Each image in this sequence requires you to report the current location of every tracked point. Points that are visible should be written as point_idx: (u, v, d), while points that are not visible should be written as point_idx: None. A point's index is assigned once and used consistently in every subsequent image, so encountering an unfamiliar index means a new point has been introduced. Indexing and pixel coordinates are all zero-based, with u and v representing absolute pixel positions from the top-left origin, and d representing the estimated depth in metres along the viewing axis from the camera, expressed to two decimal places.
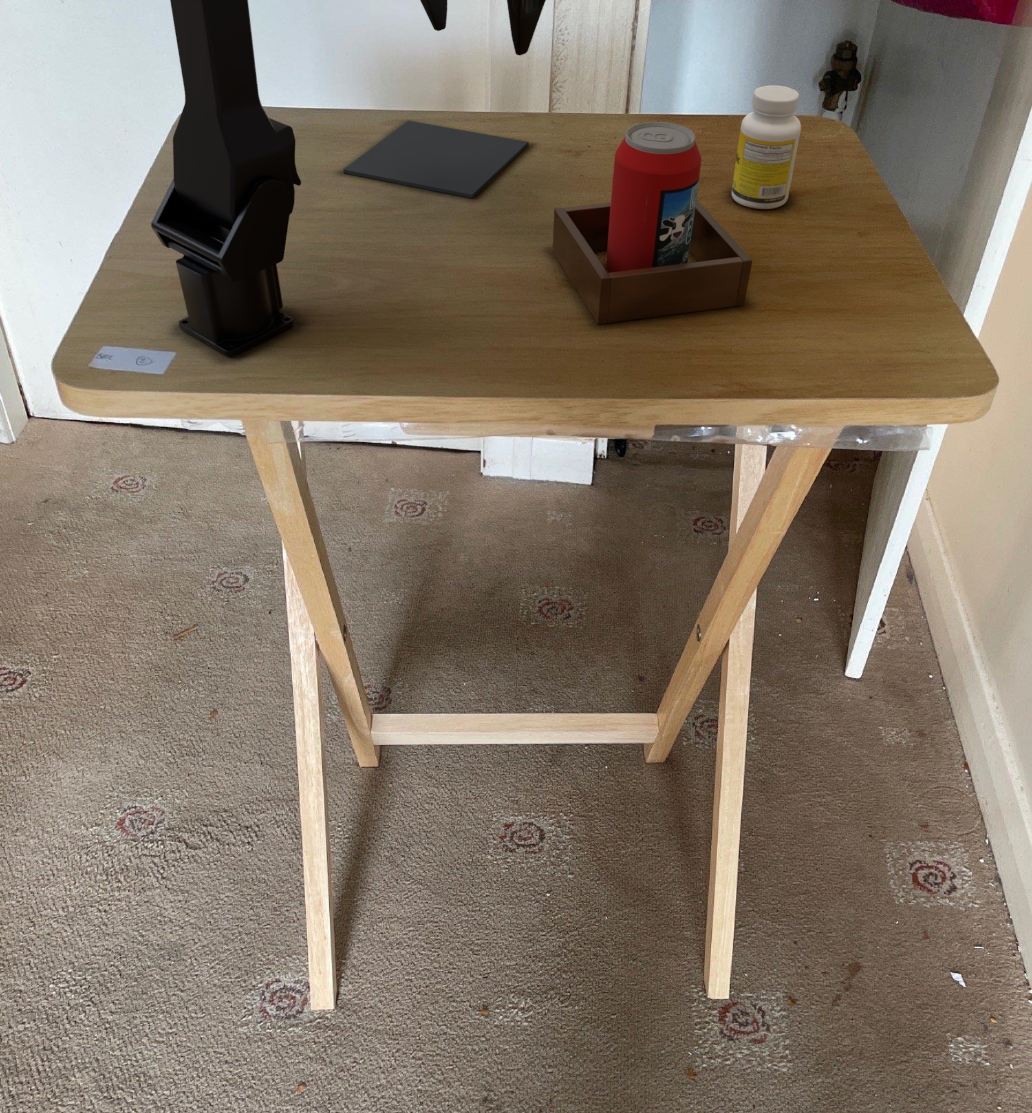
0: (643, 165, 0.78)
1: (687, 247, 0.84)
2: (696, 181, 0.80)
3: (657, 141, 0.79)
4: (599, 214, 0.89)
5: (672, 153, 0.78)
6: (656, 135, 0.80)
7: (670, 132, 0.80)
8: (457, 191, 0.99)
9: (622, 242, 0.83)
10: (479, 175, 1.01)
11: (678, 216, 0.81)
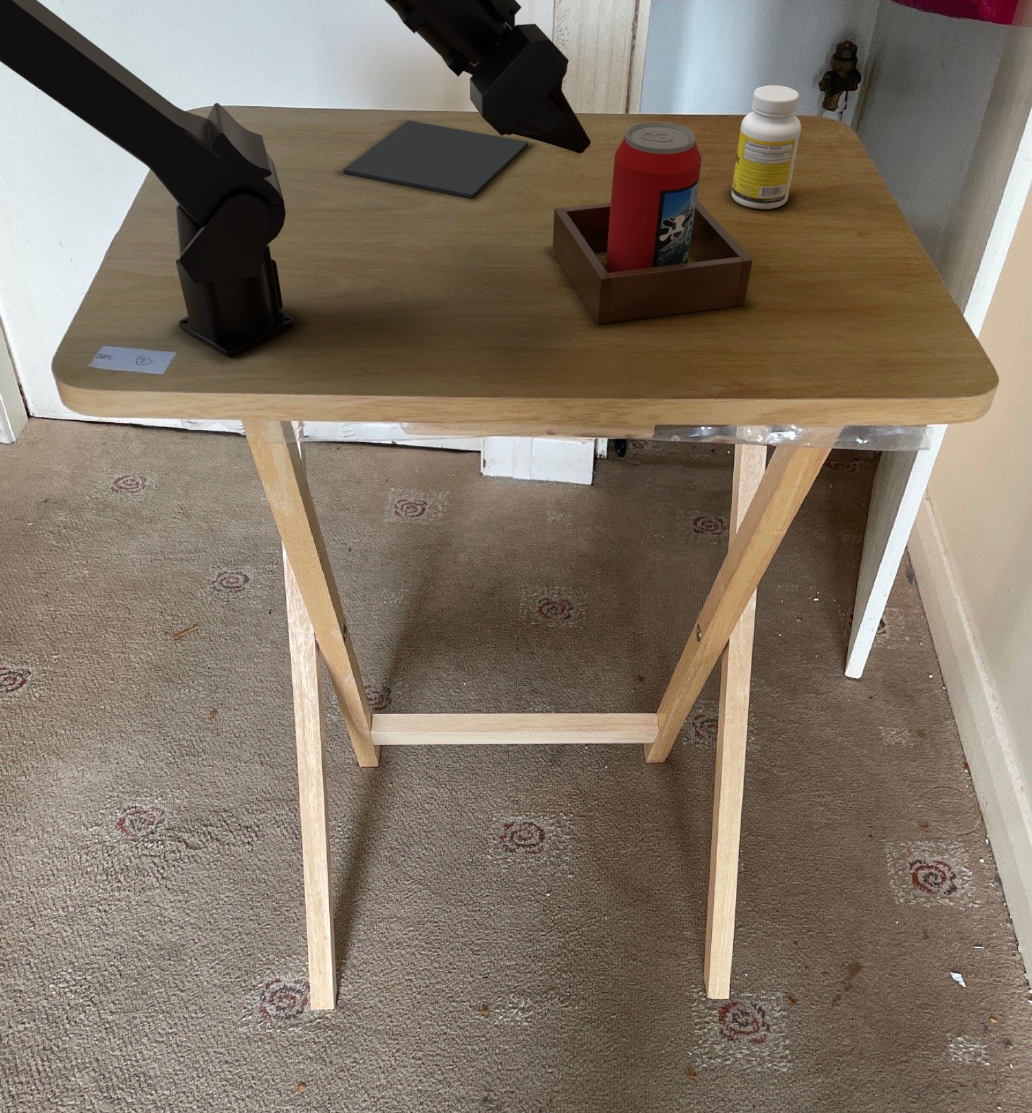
0: (643, 165, 0.78)
1: (687, 247, 0.84)
2: (696, 181, 0.80)
3: (657, 141, 0.79)
4: (599, 214, 0.89)
5: (672, 153, 0.78)
6: (656, 135, 0.80)
7: (670, 132, 0.80)
8: (457, 191, 0.99)
9: (622, 242, 0.83)
10: (479, 175, 1.01)
11: (678, 216, 0.81)
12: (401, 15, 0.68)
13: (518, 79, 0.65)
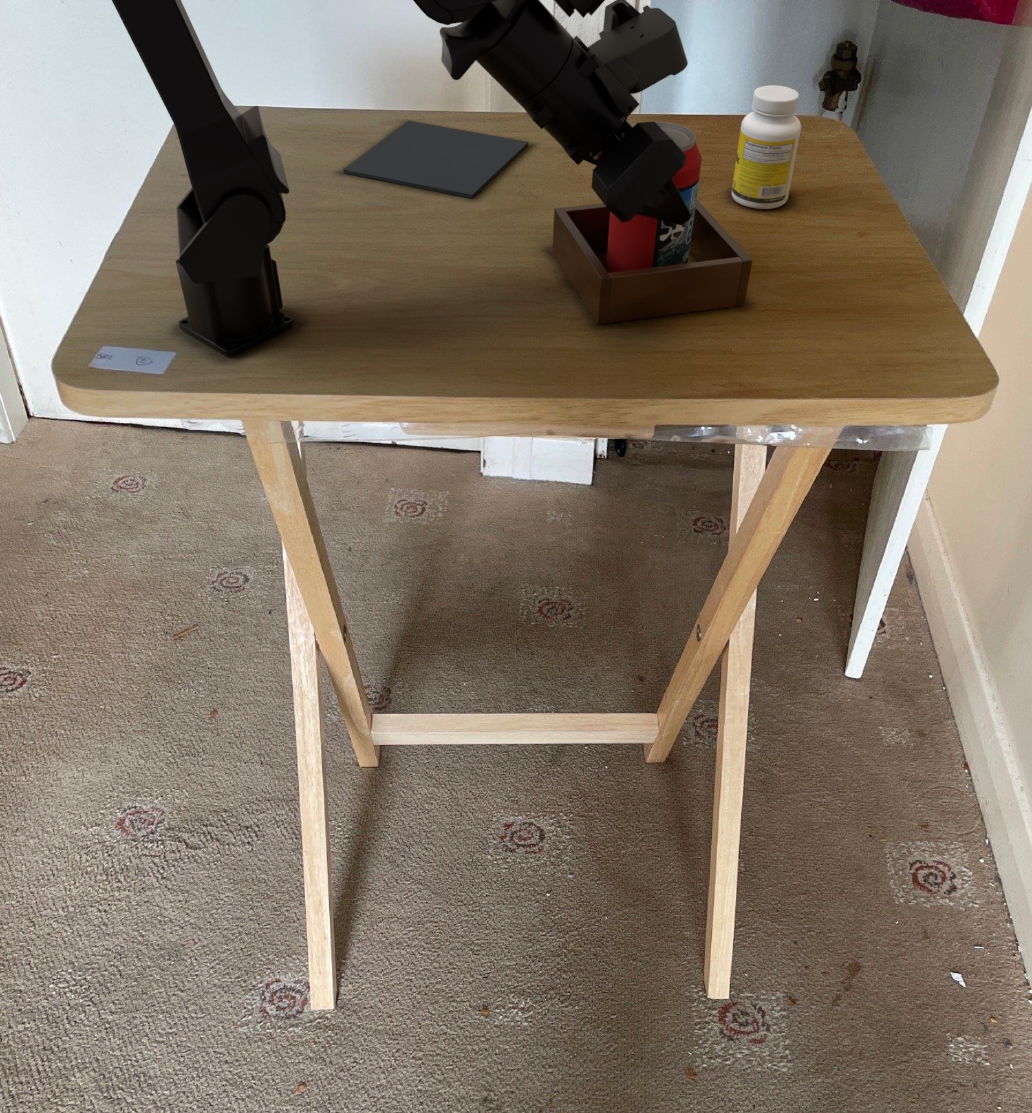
0: None
1: (687, 247, 0.84)
2: (696, 181, 0.80)
3: None
4: (599, 214, 0.89)
5: None
6: None
7: (670, 132, 0.80)
8: (457, 191, 0.99)
9: (622, 242, 0.83)
10: (479, 175, 1.01)
11: None
12: (529, 112, 0.74)
13: (641, 174, 0.71)
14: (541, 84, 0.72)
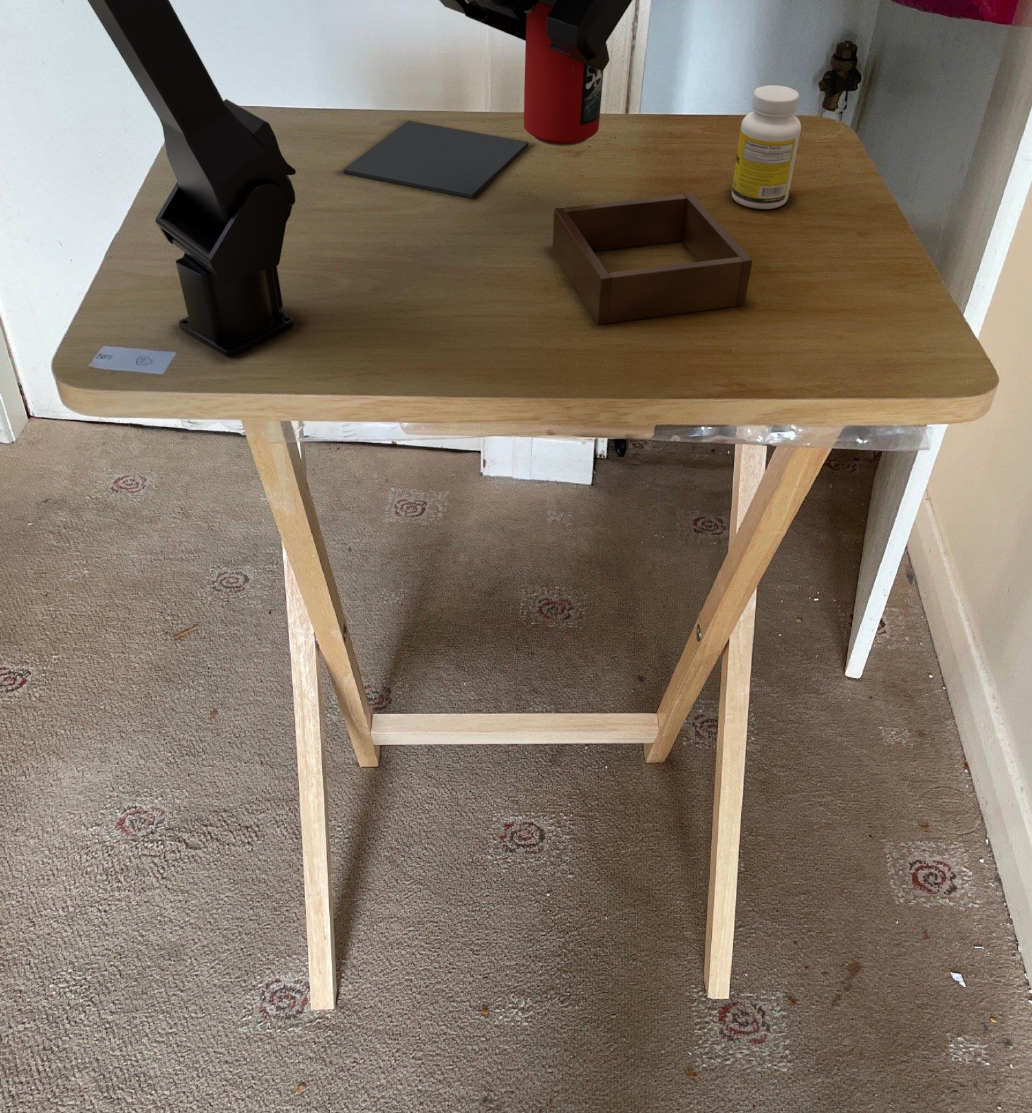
0: None
1: (601, 95, 0.90)
2: None
3: None
4: (599, 214, 0.89)
5: None
6: None
7: None
8: (457, 191, 0.99)
9: (550, 97, 0.88)
10: (479, 175, 1.01)
11: None
12: None
13: (605, 8, 0.76)
14: None
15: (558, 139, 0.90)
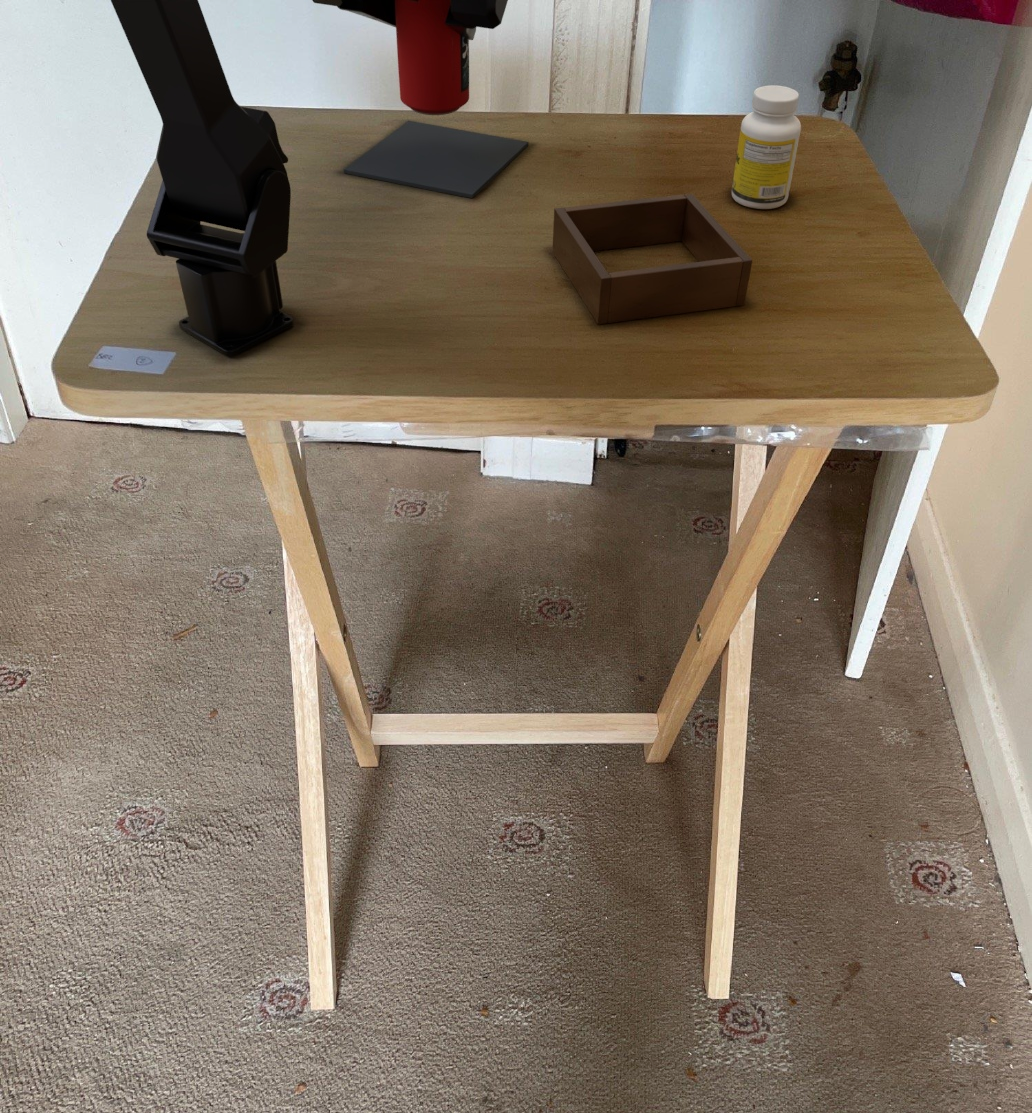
0: None
1: None
2: None
3: None
4: (599, 214, 0.89)
5: None
6: None
7: None
8: (457, 191, 0.99)
9: (435, 71, 0.96)
10: (479, 175, 1.01)
11: None
12: None
13: None
14: None
15: (445, 108, 0.99)
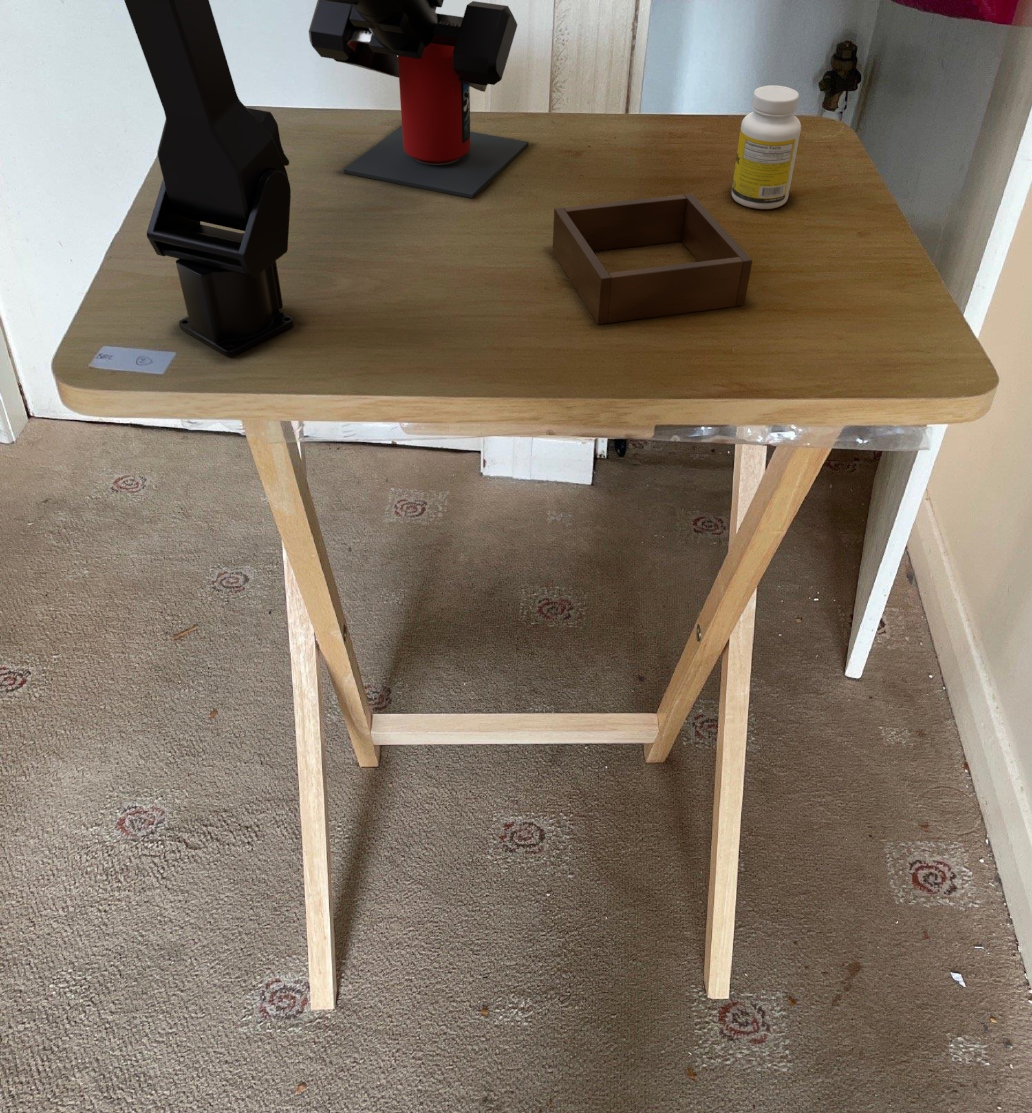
0: (445, 51, 0.95)
1: None
2: None
3: None
4: (599, 214, 0.89)
5: None
6: None
7: None
8: (457, 191, 0.99)
9: (437, 124, 0.99)
10: (479, 175, 1.01)
11: (469, 87, 1.00)
12: (388, 22, 0.87)
13: (503, 38, 0.90)
14: None
15: (446, 159, 1.02)
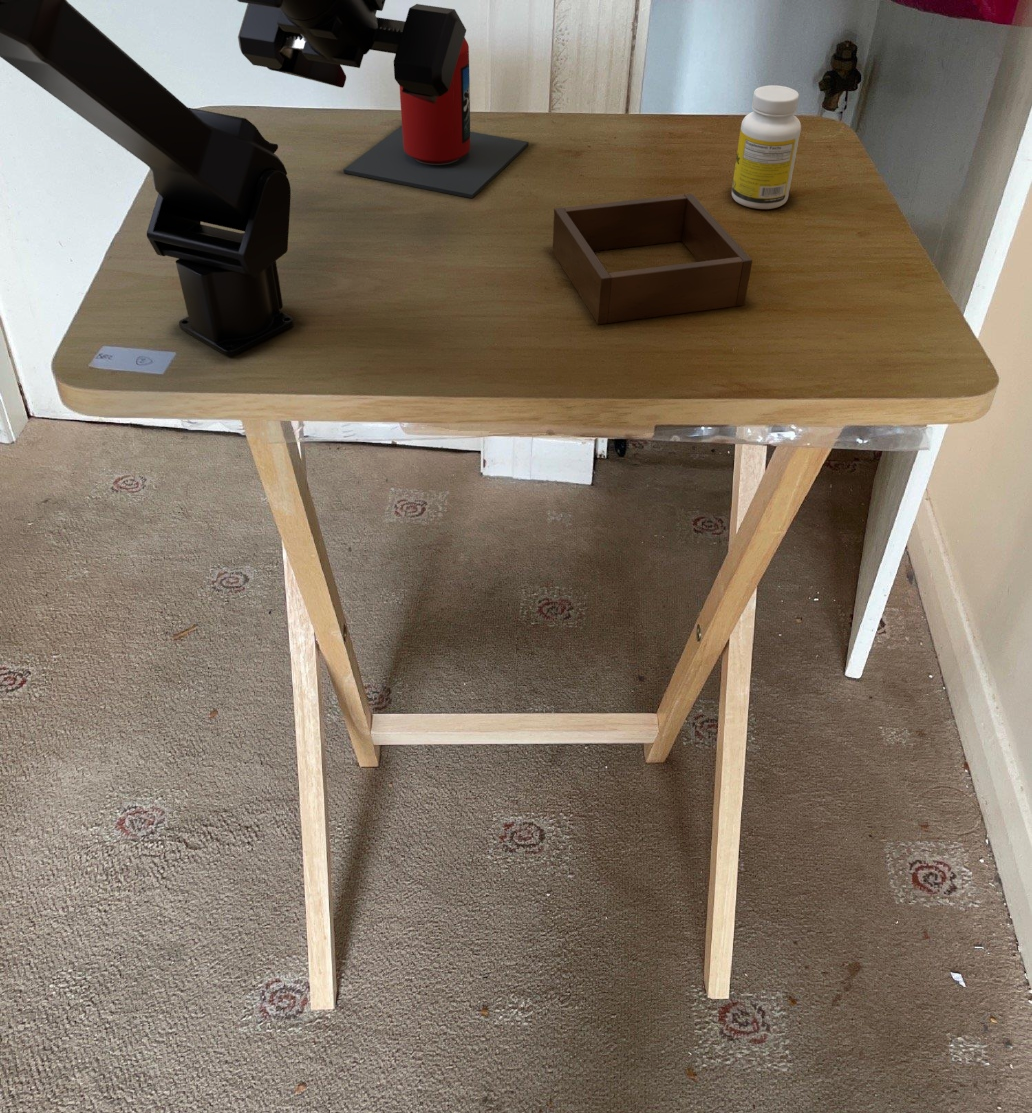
0: None
1: None
2: None
3: None
4: (599, 214, 0.89)
5: None
6: None
7: None
8: (457, 191, 0.99)
9: (437, 124, 0.99)
10: (479, 175, 1.01)
11: (469, 87, 1.00)
12: (319, 27, 0.78)
13: (450, 45, 0.81)
14: None
15: (446, 159, 1.02)
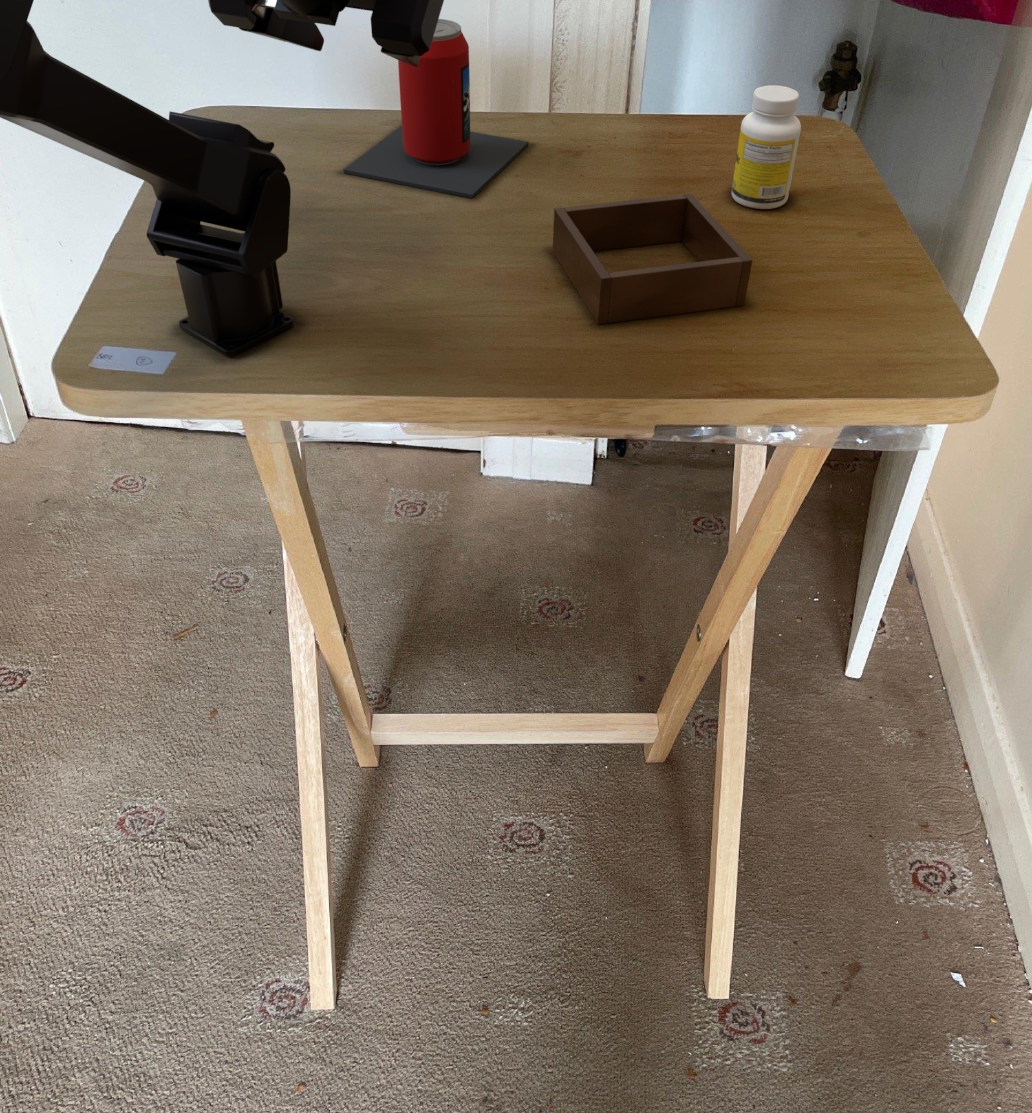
0: (445, 51, 0.95)
1: None
2: None
3: (437, 32, 0.96)
4: (599, 214, 0.89)
5: (458, 35, 0.96)
6: None
7: None
8: (457, 191, 0.99)
9: (437, 124, 0.99)
10: (479, 175, 1.01)
11: (469, 87, 1.00)
12: None
13: (430, 1, 0.76)
14: None
15: (446, 159, 1.02)
